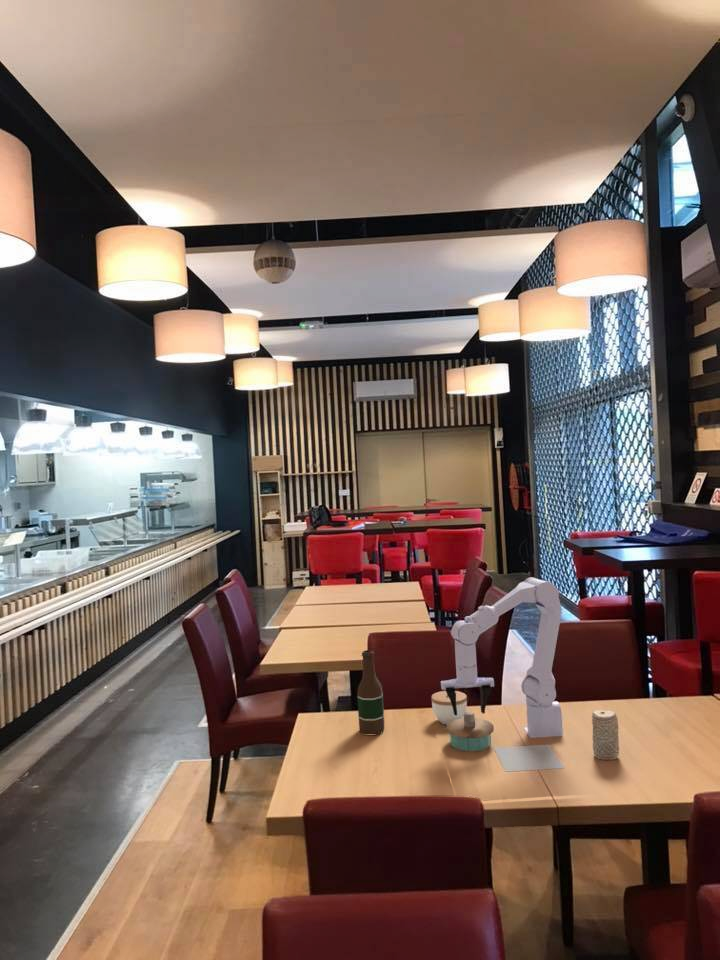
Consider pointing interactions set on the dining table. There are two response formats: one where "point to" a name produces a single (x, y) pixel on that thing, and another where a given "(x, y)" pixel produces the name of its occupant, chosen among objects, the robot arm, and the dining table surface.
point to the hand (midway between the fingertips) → (469, 713)
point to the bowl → (470, 743)
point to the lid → (470, 727)
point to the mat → (528, 758)
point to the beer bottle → (370, 698)
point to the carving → (605, 734)
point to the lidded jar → (448, 706)
